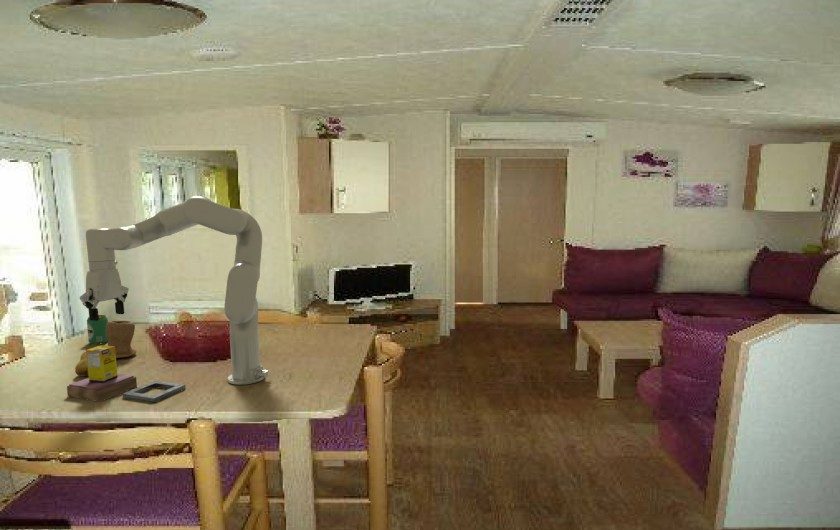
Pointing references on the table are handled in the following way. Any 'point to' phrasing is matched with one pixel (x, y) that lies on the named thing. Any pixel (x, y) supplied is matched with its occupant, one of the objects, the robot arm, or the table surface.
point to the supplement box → (101, 364)
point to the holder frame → (171, 387)
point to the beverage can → (97, 330)
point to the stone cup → (121, 337)
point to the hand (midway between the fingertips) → (107, 317)
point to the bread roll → (82, 366)
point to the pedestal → (101, 388)
